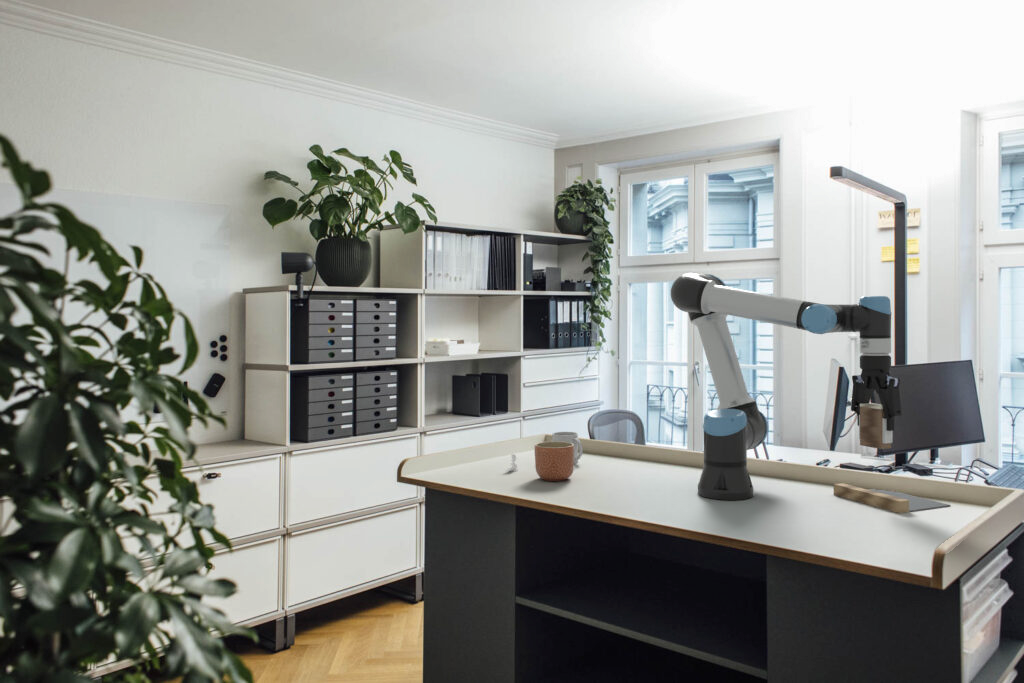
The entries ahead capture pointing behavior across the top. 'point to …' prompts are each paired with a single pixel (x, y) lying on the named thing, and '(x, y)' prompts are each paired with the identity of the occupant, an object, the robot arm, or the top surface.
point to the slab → (872, 426)
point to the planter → (554, 460)
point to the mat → (914, 500)
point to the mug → (570, 438)
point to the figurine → (513, 464)
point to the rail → (872, 498)
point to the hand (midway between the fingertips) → (875, 440)
